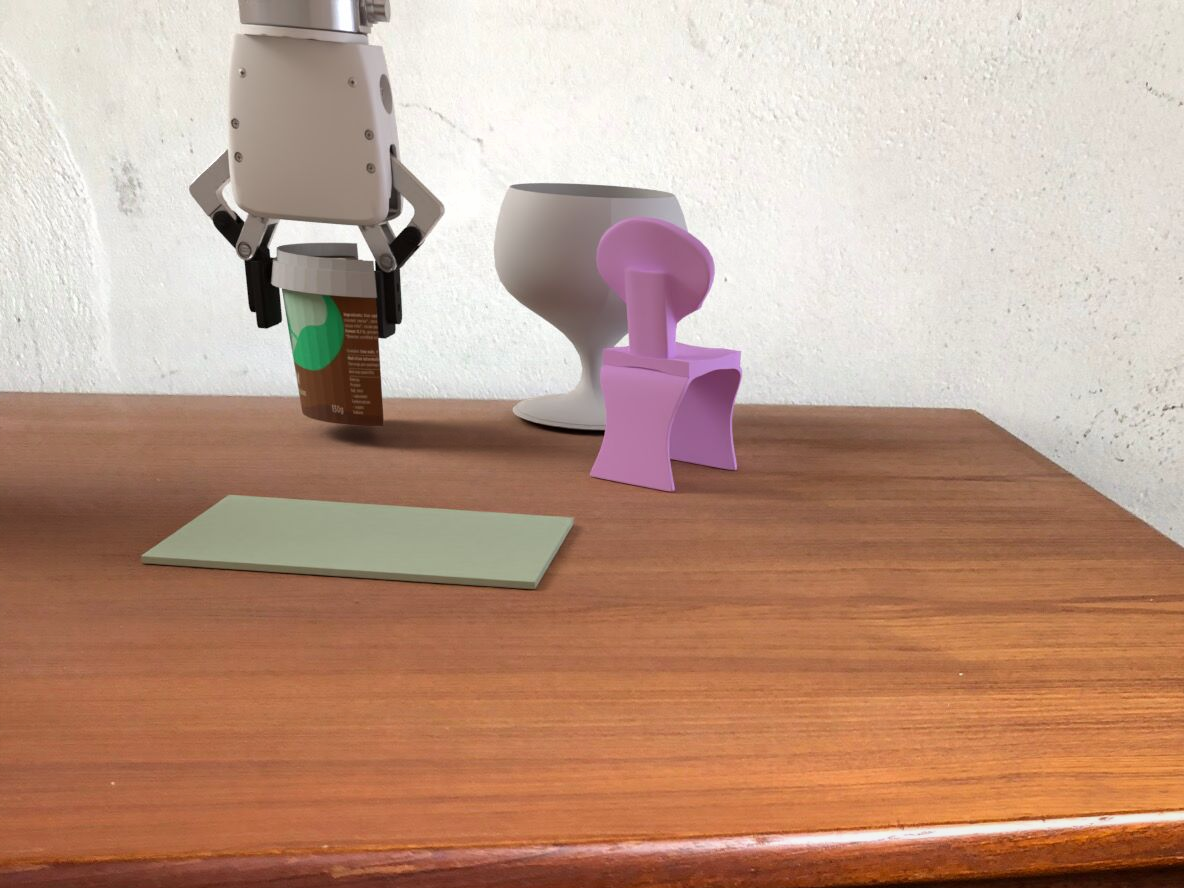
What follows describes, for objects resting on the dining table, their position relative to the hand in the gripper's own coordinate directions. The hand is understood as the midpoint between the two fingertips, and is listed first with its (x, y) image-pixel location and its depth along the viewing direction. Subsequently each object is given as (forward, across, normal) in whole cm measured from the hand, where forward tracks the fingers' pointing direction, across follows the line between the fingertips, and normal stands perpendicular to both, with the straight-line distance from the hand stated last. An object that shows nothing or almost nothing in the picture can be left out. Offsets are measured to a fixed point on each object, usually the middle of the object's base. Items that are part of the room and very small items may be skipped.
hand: (327, 328), depth 101 cm
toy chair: (+6, -24, +6) cm, 25 cm away
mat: (+7, -10, +26) cm, 29 cm away
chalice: (+6, -17, -10) cm, 21 cm away
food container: (+5, 0, 0) cm, 5 cm away
